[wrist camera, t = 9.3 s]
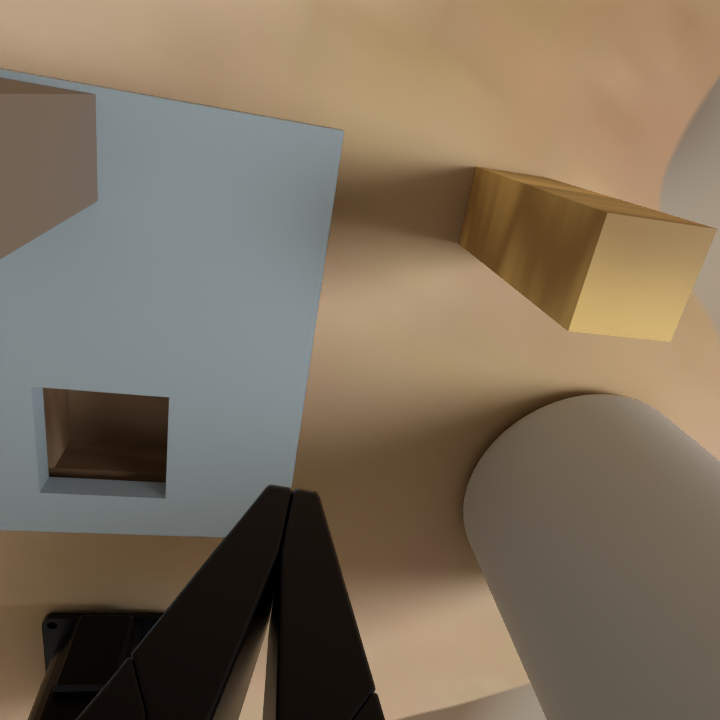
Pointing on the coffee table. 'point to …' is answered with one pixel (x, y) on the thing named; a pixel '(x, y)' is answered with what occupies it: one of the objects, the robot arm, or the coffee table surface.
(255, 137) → the grey plate with hole
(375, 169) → the coffee table surface
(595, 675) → the cylinder vase
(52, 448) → the brown open tray
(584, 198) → the golden wooden block
